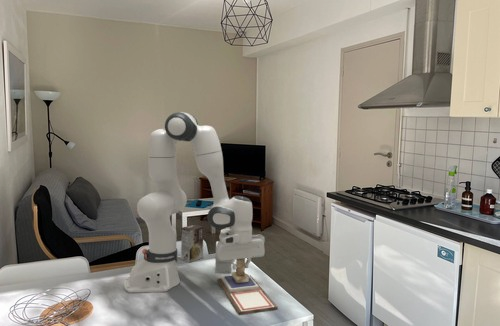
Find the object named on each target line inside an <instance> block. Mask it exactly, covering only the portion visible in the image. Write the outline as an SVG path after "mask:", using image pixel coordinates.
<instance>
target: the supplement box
mask: <svg viewBox="0 0 500 326" xmlns="http://www.w3.org/2000/svg"><path fill="white" fill-rule="evenodd" d="M219 241H220V240H218V241H216V242H215V250H216V249H217V244H218V242H219ZM214 268H215V274H232V270H233V268H232V263H231V261H230V260H222V261H219V260H218V259H217V257H216V256H215V267H214Z"/></svg>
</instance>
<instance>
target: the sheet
mask: <svg viewBox="0 0 500 326" xmlns="http://www.w3.org/2000/svg"><path fill="white" fill-rule="evenodd" d="M231 296H232V297H233V299H234V301H235V302H236V304H237V305H238V307H239V308H240V310H241V311H249V310H256V309H263V308H270V307H274V306H273V305H272V303H271V302H270V301H269V300H268V299H267V297H266V296H265V295H264V294H263V293H262V291H261V290H256V291H248V292H240V293H231Z"/></svg>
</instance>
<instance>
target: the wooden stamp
mask: <svg viewBox="0 0 500 326" xmlns="http://www.w3.org/2000/svg"><path fill="white" fill-rule="evenodd" d="M235 260H236V263H235V264H236V265H237V269H235V271H231V275H232V279H233V280H234V281H235V283H236V284H245V283H249V277H248V276H247V275H246V274H247V273H246V272H245V269H246V268H245V263H246V258H243V259H235Z"/></svg>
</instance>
